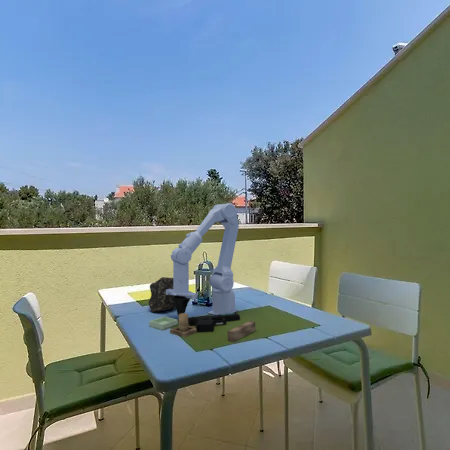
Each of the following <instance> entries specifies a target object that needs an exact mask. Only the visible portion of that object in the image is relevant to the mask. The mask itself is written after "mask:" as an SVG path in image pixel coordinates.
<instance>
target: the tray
mask: <svg viewBox="0 0 450 450" xmlns="http://www.w3.org/2000/svg"><path fill="white" fill-rule="evenodd" d="M148 324H149V325H148V327H149V328H153V329H155V330H159V331H166V330H168V329H169V330H170V329H173V328H175V327H178V326H179V319H175V318H172V317H167V316H161V317H159V318H155V319H152V320H149V321H148Z"/></svg>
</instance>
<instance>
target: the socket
mask: <svg viewBox="0 0 450 450" xmlns="http://www.w3.org/2000/svg"><path fill="white" fill-rule="evenodd" d="M196 333H198V332H197V329H196V326H195V327H194V326H190V325H188V331H186V332H182V331H179V326H175V327H172V328H170V329H169V334H171V335H175V336H178V337H182V338H186V337H188V336H191V335H194V334H196Z"/></svg>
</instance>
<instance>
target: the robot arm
mask: <svg viewBox="0 0 450 450" xmlns="http://www.w3.org/2000/svg"><path fill="white" fill-rule="evenodd" d="M238 212H239V211H238V209H237V208H236V206H235V205H234V204H233V203H232V202H231V203H230V202H227V203H221V204H219V203H218V204H215V205H214V206H213V207H212V208H211V209H210V210H209V211H208V214H207V215H206V216H205V218H204V219H203V220H202V222H201V223H200V225H199V226H198V227H197V228H196V230H195V231H191V232H189V233H186V235H185V236H186V237H185V238H184V239H183V241H182V242H181V243H179V244H178V245H177V246H178V247H177V248H174V249H173V250H172V251H171V254H170V259H171V260H172V262H173V265H172V266H173V268H172V269H173V270H172V273H173V274H172V278H173V289H167V290H166V295H174V296H175V297H174V298H172V301H173V303H174V304H175V307H176V308H175V311H176V313H177V316H178V317H179V314H181V313H186V311H187V307H188V304H189V303H190V301H191V300H193V301H195V300H197V299H198V293H196V292H193V291H190V287H189V285H190V284H189V280H190V279H189V277H190V274H189V273H190V270H189V265H190V264H189V263H190V262H191V260H192V256H193V253H194V252H195V251H196V250H197V248H198V247H200V245H201V244H202V242H203V236H204V235H205V234H206V233H207V232H208V231H209V230H210V229H211V228H212V226H214V224H215V223H218V222H219V223H220V224H222V226H223V228H224V232H223V237H222V242H221V246H220V250H219V251H220V252H219V257H218V260H217V261H218V262H217V266H216V267H215V268H214V269H213V272H212V274H211V276H210V278H209V285H210V287H212V289H211V290H212V310H209V311H208V312H207V314H210V315H213V316H215V315H218V314H228V313H237V312H238V310H237V309H236V294H235V291H234V290H232V289H233V287H234V282H235V281H234V272H233V270H232V265H233V264H232V263H233V258H234V253H235V247H236V243H237V239H238V232H239V228H240V225H239V224H240V223H239V220H238Z"/></svg>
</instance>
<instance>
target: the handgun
mask: <svg viewBox="0 0 450 450" xmlns="http://www.w3.org/2000/svg"><path fill="white" fill-rule="evenodd" d="M240 319H241V316H240V314H238V313H237V312H234V313H228V314H218V315H200V316H190V317H189V316H188V326H191V327H194V326H195V328H196V329H197V332H196V333H213V332H214V330H215V326H219V325H227V323H228V322H233V321H234V322H235V321H240Z"/></svg>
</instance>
